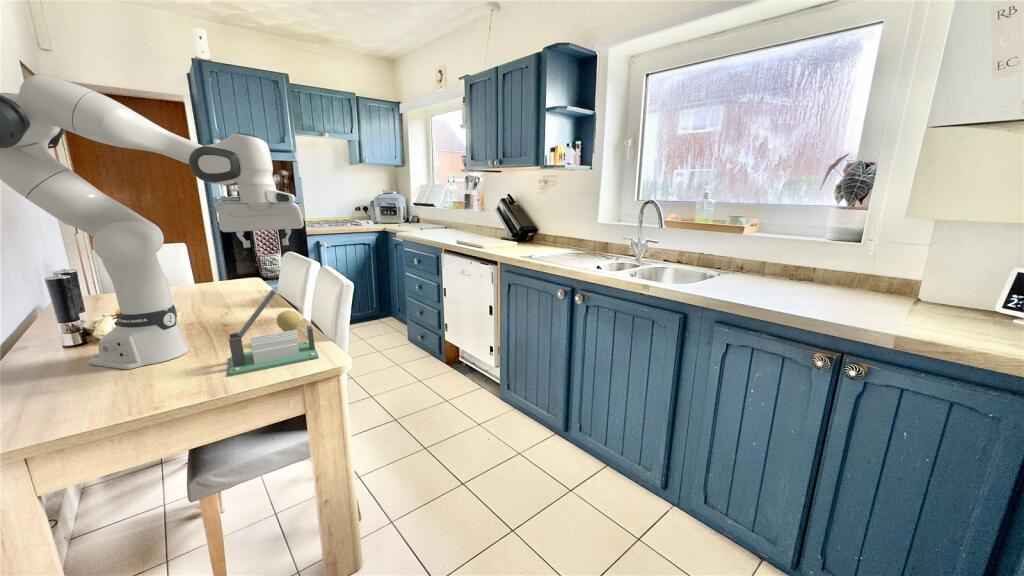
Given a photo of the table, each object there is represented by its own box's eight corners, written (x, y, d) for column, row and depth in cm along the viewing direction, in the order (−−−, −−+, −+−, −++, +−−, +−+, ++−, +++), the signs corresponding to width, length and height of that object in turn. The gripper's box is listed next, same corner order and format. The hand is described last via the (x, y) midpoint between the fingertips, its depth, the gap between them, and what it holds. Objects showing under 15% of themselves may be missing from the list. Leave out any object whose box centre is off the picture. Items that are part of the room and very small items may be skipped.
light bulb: (292, 345, 124) (288, 314, 122) (275, 343, 126) (270, 313, 123) (307, 338, 130) (303, 308, 128) (289, 336, 132) (285, 307, 129)
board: (230, 376, 104) (224, 345, 102) (231, 357, 115) (226, 329, 113) (318, 358, 115) (315, 330, 113) (312, 342, 126) (309, 317, 124)
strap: (236, 345, 108) (232, 343, 107) (236, 341, 110) (232, 340, 110) (275, 293, 111) (272, 291, 110) (275, 290, 113) (271, 288, 112)
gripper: (210, 197, 103) (220, 250, 107) (299, 195, 112) (306, 245, 116) (215, 196, 109) (224, 247, 112) (299, 195, 118) (306, 242, 121)
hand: (266, 246), depth 114 cm, fingers open, 8 cm apart
